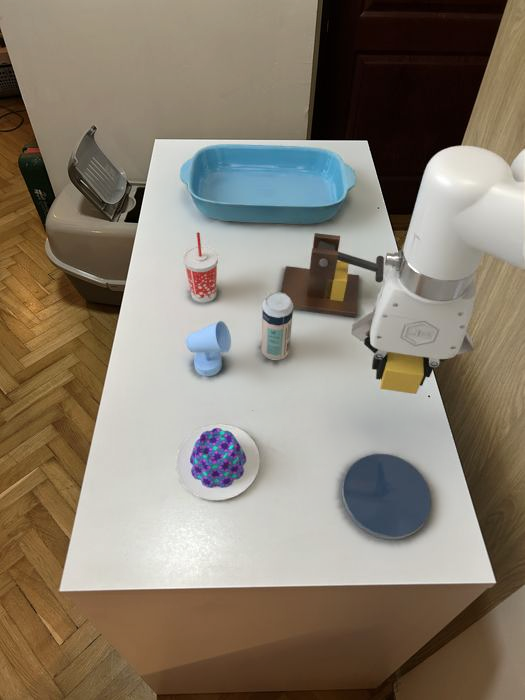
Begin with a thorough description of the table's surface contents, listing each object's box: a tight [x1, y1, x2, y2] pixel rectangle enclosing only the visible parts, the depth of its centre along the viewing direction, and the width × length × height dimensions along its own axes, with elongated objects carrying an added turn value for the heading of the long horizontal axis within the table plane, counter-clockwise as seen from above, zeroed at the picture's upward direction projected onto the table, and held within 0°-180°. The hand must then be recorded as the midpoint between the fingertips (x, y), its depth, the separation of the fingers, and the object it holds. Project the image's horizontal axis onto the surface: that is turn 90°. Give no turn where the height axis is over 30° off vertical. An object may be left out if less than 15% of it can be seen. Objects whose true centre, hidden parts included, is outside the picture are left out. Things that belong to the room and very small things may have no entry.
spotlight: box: [185, 320, 232, 377], centre depth 84 cm, size 5×10×7 cm
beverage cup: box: [182, 232, 219, 303], centre depth 93 cm, size 6×6×14 cm
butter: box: [324, 260, 350, 301], centre depth 95 cm, size 4×5×5 cm
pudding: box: [175, 423, 261, 501], centre depth 75 cm, size 12×12×5 cm
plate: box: [341, 453, 432, 541], centre depth 73 cm, size 12×12×1 cm
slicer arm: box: [317, 241, 385, 284], centre depth 91 cm, size 12×6×2 cm, turn 80°
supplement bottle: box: [260, 291, 294, 361], centre depth 85 cm, size 5×5×12 cm
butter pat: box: [380, 352, 424, 395], centre depth 68 cm, size 4×6×4 cm
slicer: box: [280, 232, 360, 319], centre depth 94 cm, size 14×10×12 cm
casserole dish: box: [179, 143, 357, 225], centre depth 113 cm, size 37×22×7 cm, turn 89°
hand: (399, 372), depth 69 cm, fingers closed on butter pat, 4 cm apart
